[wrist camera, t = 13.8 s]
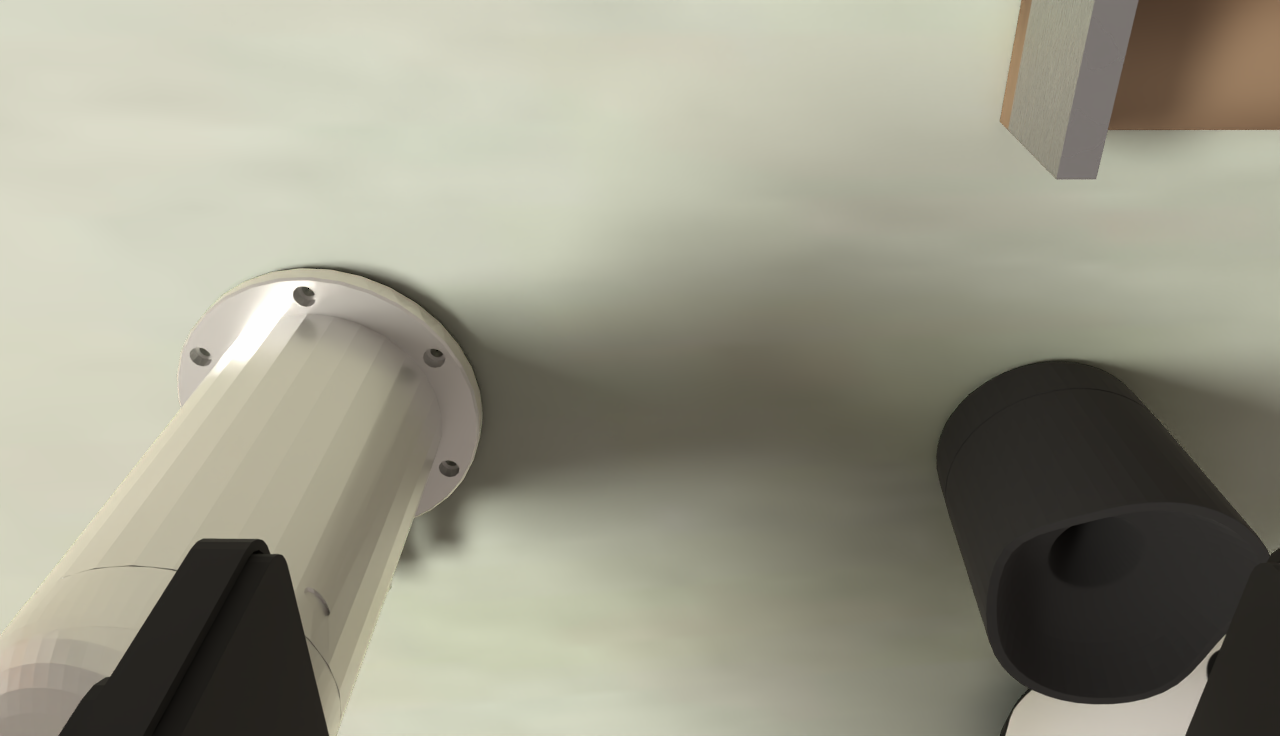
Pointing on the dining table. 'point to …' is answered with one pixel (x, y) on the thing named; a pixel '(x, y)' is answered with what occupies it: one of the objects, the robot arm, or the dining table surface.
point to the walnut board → (1190, 66)
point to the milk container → (1113, 711)
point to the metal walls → (1070, 81)
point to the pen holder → (1089, 535)
